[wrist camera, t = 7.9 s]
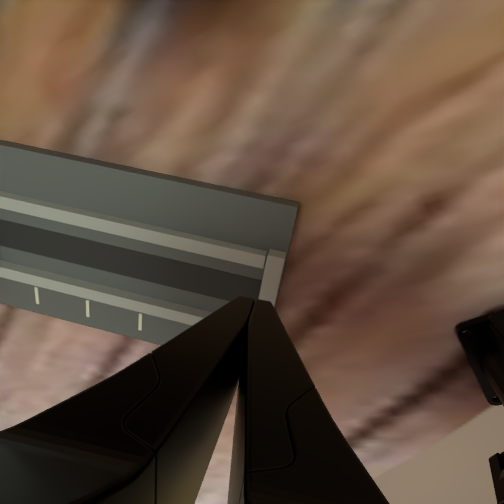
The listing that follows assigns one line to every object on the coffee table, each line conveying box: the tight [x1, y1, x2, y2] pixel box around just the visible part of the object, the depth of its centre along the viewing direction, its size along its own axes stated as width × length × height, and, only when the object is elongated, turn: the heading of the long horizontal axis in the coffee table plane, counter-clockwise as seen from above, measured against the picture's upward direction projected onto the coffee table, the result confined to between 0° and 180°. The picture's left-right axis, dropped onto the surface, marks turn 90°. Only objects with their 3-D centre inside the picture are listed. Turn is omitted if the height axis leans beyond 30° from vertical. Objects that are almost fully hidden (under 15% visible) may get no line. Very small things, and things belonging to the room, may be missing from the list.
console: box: [0, 140, 299, 345], centre depth 23 cm, size 26×12×2 cm, turn 80°
